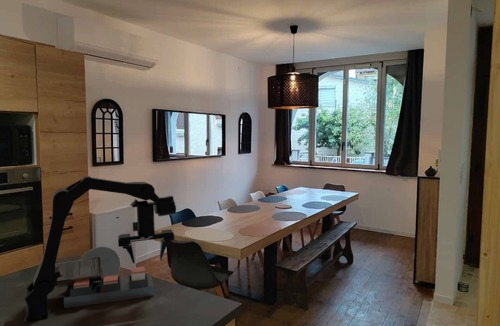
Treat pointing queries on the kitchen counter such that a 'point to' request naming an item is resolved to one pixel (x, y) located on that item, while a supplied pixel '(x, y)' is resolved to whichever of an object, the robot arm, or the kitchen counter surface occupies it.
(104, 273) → the chinaware
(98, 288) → the gray slotted rack
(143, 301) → the kitchen counter surface
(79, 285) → the button
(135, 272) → the button
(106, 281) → the button
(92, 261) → the coffee box
